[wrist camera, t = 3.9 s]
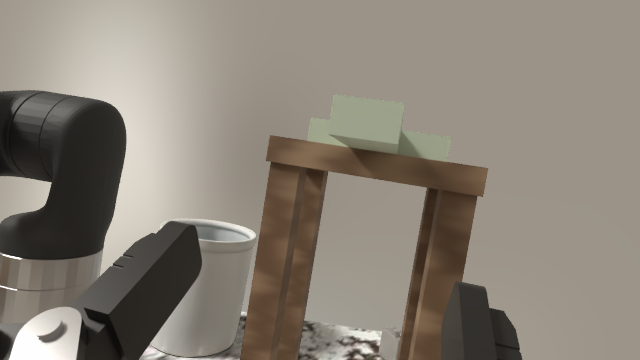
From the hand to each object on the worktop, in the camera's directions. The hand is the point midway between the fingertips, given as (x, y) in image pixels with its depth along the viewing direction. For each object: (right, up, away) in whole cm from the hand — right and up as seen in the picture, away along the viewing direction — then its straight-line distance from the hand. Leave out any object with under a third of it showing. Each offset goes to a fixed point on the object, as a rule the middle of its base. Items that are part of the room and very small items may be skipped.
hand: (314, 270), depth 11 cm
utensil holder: (-20, -22, +48) cm, 57 cm away
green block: (+4, +5, +17) cm, 18 cm away
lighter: (+13, -28, +49) cm, 58 cm away
